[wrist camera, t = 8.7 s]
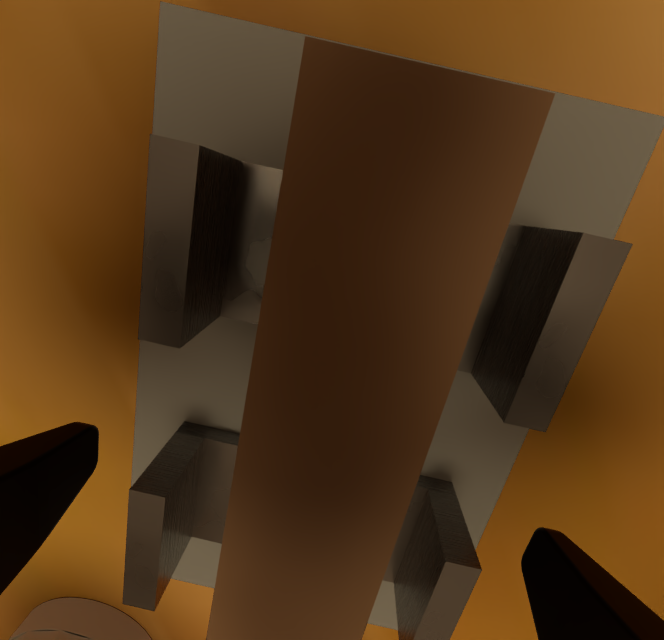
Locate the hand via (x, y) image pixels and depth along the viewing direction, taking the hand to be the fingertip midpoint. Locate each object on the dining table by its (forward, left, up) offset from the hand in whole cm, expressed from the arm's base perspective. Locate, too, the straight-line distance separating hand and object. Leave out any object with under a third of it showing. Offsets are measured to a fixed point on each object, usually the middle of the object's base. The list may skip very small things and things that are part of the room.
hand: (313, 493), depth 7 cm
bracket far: (0, +4, -4) cm, 6 cm away
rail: (0, 0, -3) cm, 3 cm away
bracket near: (0, -4, -4) cm, 6 cm away
